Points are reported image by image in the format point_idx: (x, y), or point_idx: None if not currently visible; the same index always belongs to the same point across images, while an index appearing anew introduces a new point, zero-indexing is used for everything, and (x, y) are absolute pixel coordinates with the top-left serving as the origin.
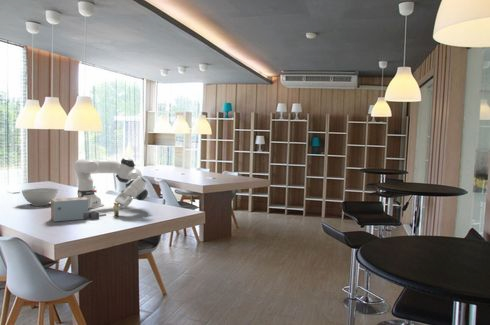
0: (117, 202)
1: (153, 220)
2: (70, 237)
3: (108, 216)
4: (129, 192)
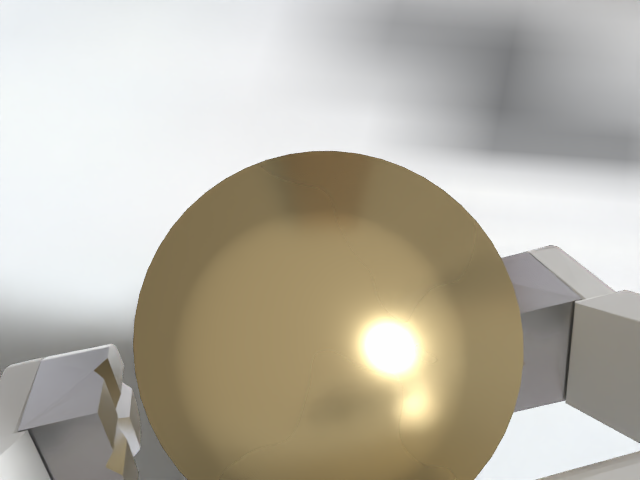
0: (435, 421)
1: None
2: None
3: None
4: None
